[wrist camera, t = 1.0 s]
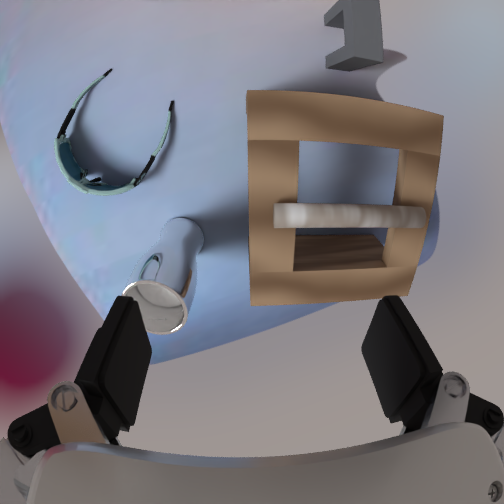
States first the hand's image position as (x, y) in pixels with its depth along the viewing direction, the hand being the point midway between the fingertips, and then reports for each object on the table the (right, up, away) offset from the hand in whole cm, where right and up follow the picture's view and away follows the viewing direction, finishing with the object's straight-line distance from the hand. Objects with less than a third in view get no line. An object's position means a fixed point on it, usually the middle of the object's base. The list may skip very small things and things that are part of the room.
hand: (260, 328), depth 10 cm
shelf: (+8, +12, +24) cm, 28 cm away
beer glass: (-10, +5, +28) cm, 30 cm away
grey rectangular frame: (+10, +28, +15) cm, 33 cm away
